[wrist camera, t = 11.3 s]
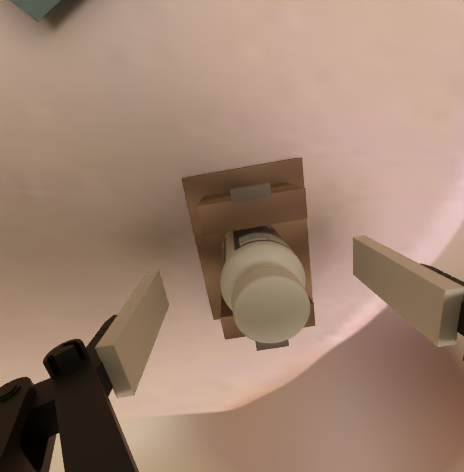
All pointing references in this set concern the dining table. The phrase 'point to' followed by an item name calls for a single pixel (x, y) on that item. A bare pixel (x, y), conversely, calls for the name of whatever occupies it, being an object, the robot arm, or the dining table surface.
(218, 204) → the cradle
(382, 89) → the dining table surface
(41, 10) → the teapot
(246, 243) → the pill bottle
